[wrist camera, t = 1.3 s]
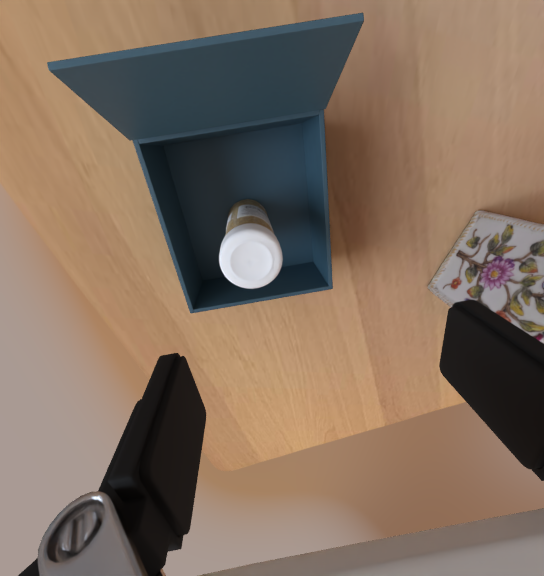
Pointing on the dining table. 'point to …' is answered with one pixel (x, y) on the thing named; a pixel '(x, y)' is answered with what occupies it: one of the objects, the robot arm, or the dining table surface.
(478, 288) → the decorative jar
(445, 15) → the dining table surface
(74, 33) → the dining table surface
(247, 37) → the flap
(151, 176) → the carton
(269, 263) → the spice jar
